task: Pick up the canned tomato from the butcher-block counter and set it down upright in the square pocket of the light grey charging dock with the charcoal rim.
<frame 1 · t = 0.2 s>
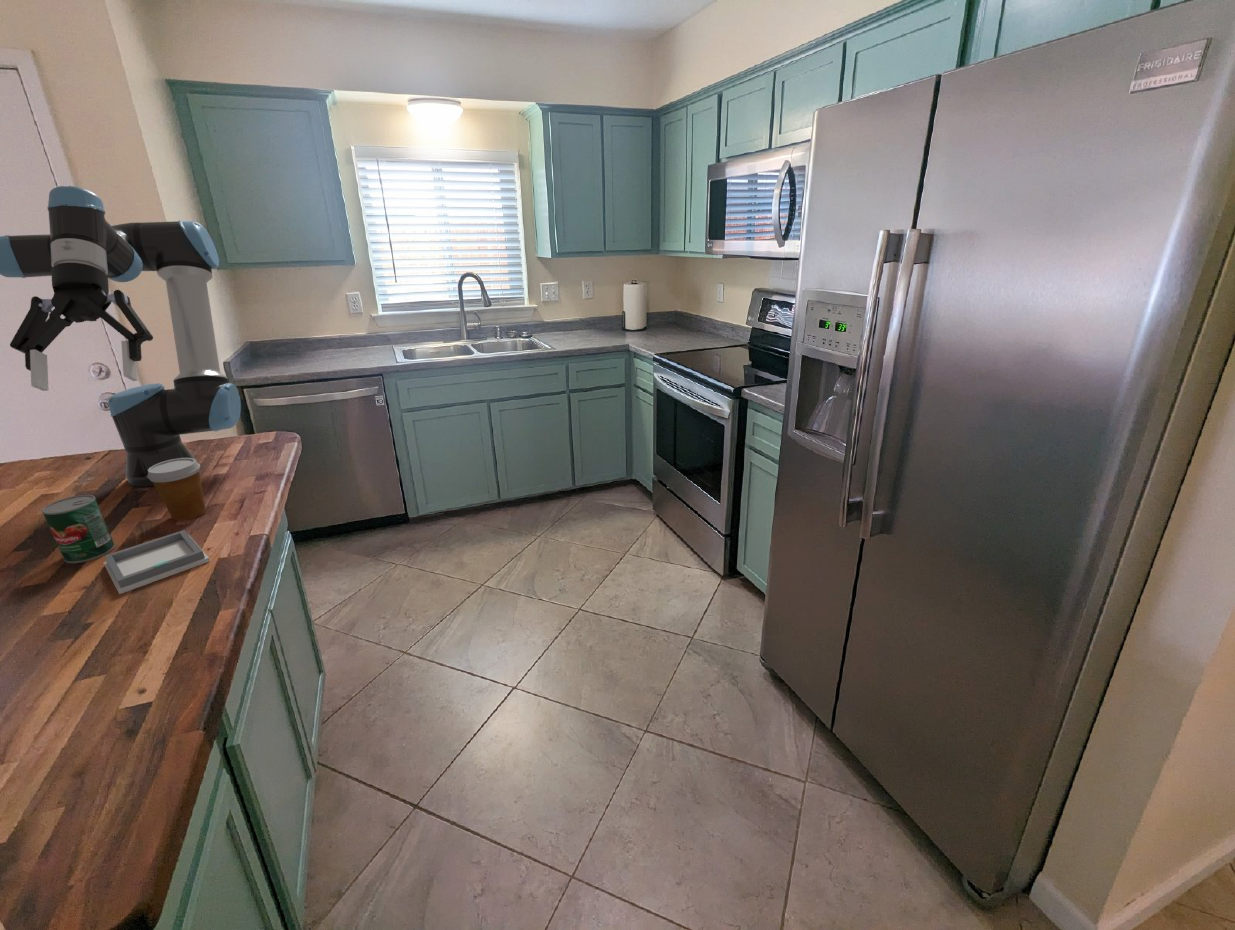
hand: (86, 383, 102), 35 cm above the countertop, tool tilted 35°, fingers open, 13 cm apart
disposable coffee cup: (189, 514, 132), on the countertop
canned tomato: (90, 553, 117), on the countertop
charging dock: (157, 563, 112), on the countertop
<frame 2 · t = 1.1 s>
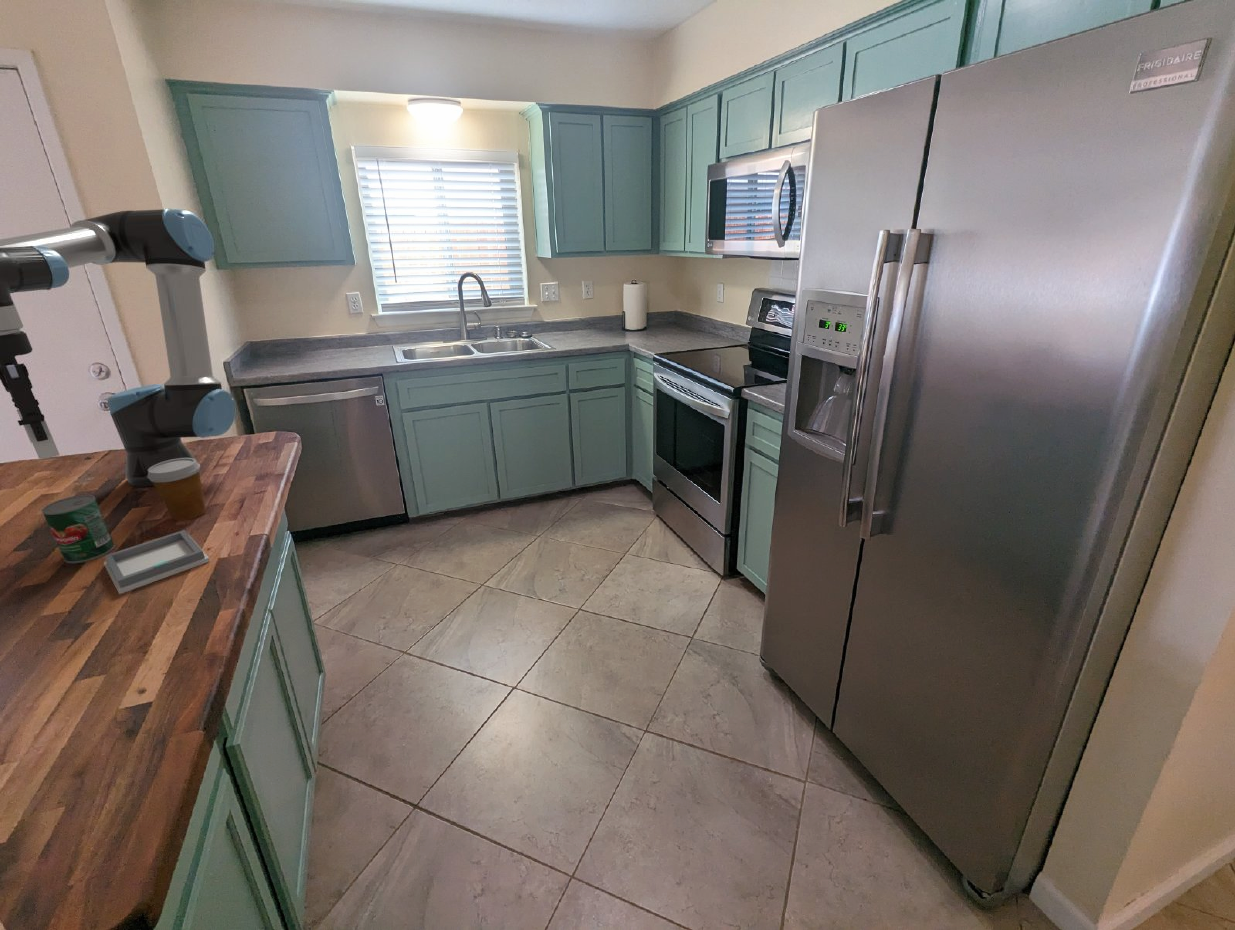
hand: (44, 448, 108), 22 cm above the countertop, tool pointing down, fingers open, 13 cm apart
nothing on the countertop moved.
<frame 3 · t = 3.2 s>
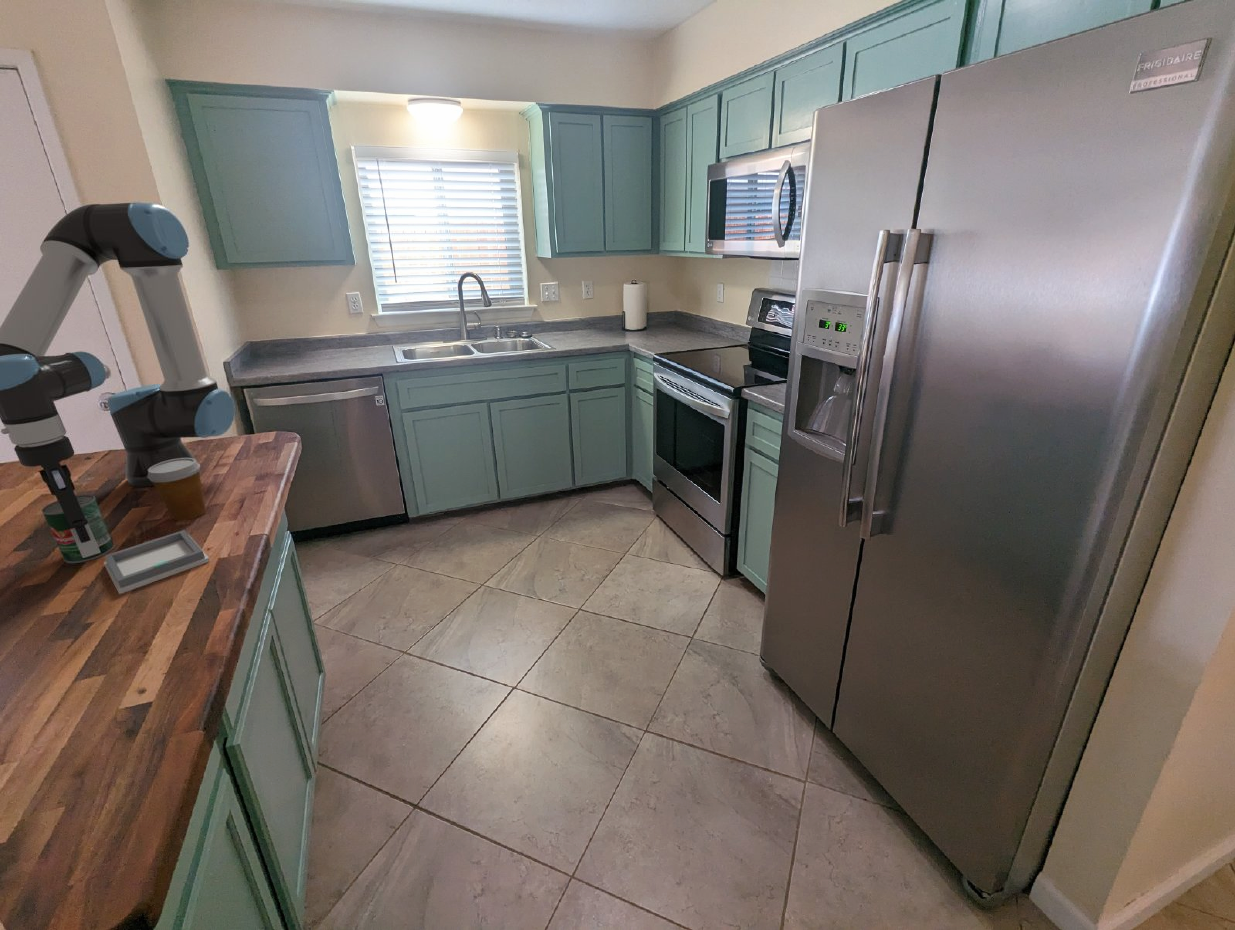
hand: (87, 547, 117), 1 cm above the countertop, tool pointing down, fingers closed on canned tomato, 8 cm apart
canned tomato: (90, 553, 117), on the countertop, touching gripper
everything else where it was.
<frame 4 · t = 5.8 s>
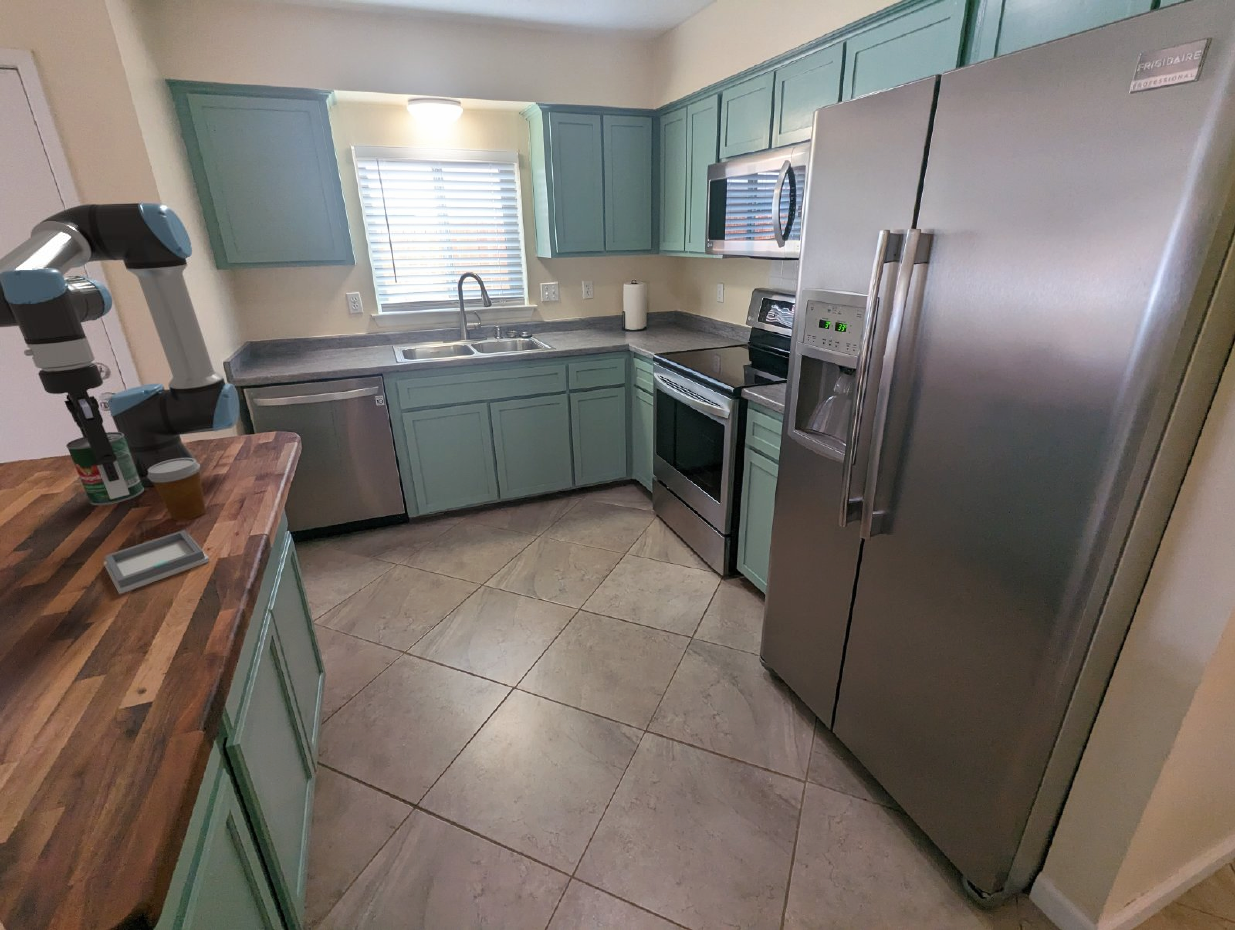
hand: (115, 489, 107), 16 cm above the countertop, tool pointing down, fingers closed on canned tomato, 8 cm apart
canned tomato: (118, 496, 107), point 14 cm above the countertop, touching gripper
everything else where it was.
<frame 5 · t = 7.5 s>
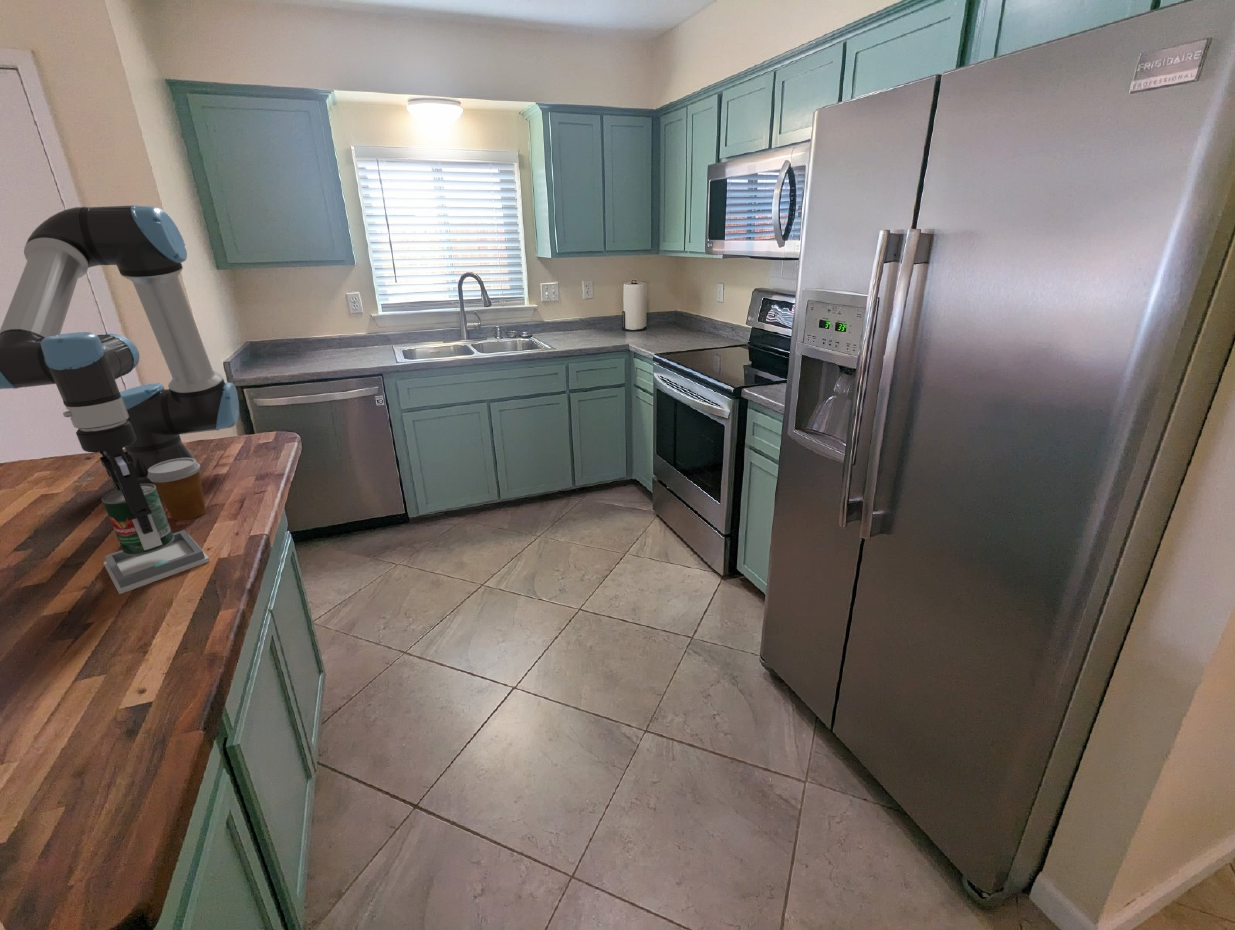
hand: (147, 539, 110), 5 cm above the countertop, tool pointing down, fingers closed on canned tomato, 8 cm apart
canned tomato: (149, 545, 111), point 4 cm above the countertop, touching gripper
everything else where it was.
when the fingers open (4 cm above the countertop, at t = 8.6 s): canned tomato drops 2 cm, resting on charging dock.
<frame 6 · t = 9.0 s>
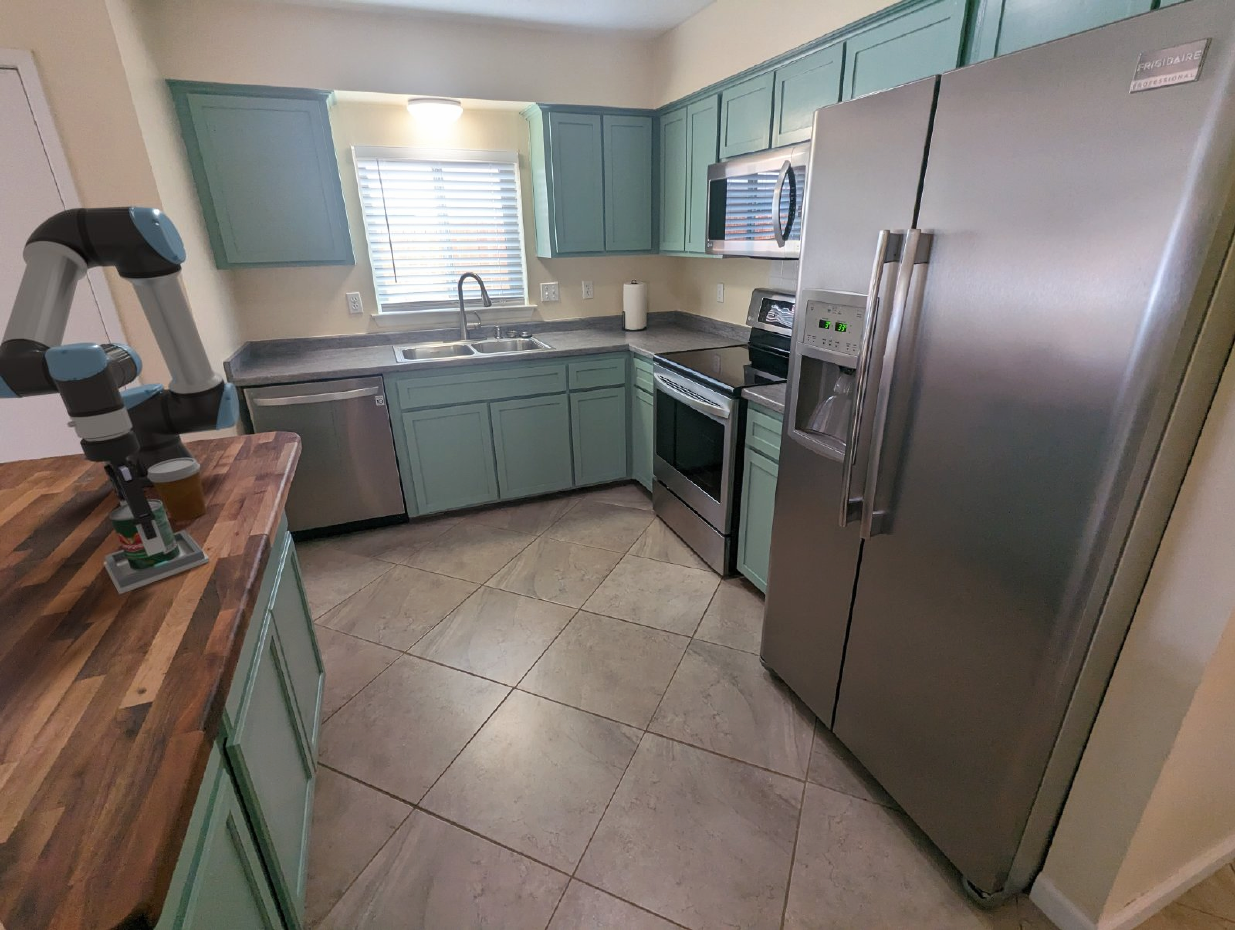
hand: (148, 540, 110), 5 cm above the countertop, tool pointing down, fingers open, 13 cm apart
canned tomato: (156, 560, 112), point 1 cm above the countertop, touching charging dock
everything else where it was.
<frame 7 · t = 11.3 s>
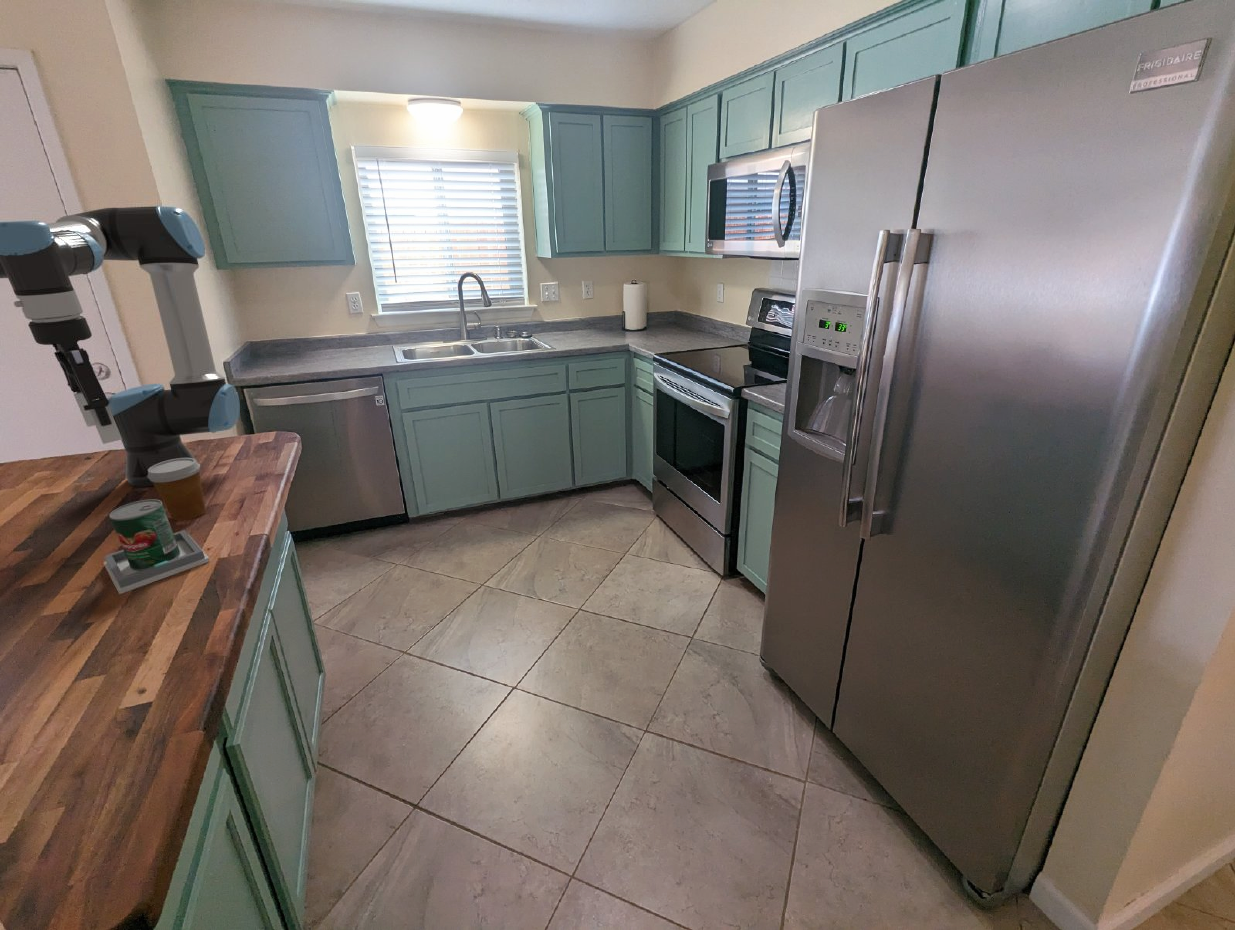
hand: (104, 432, 110), 24 cm above the countertop, tool pointing down, fingers open, 13 cm apart
nothing on the countertop moved.
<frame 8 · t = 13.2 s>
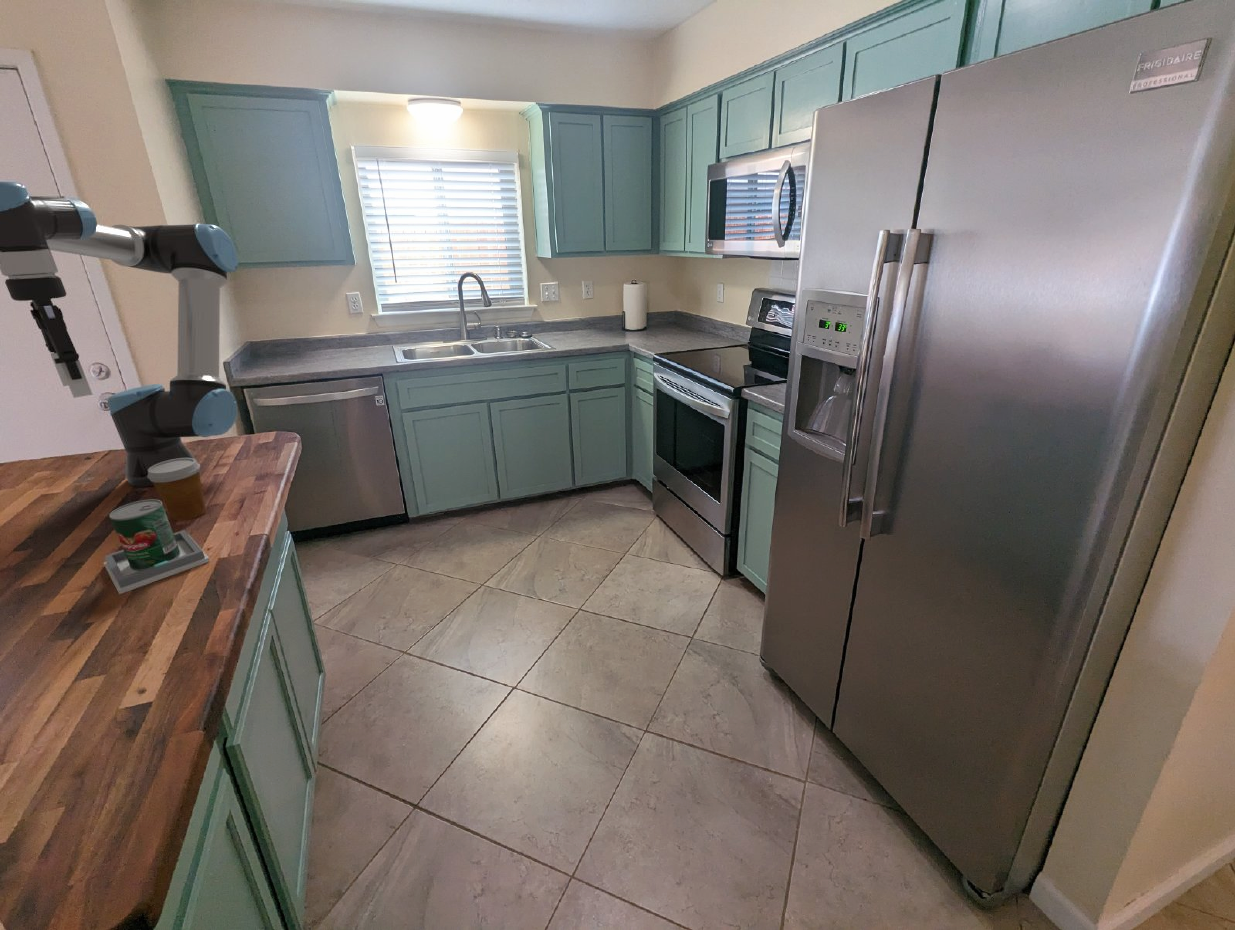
hand: (77, 390, 114), 31 cm above the countertop, tool pointing down, fingers open, 13 cm apart
nothing on the countertop moved.
at the end: canned tomato 0.2 cm off-centre on the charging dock, point 0.6 cm above the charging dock's base; canned tomato tilted 0°; the gripper is holding nothing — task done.
